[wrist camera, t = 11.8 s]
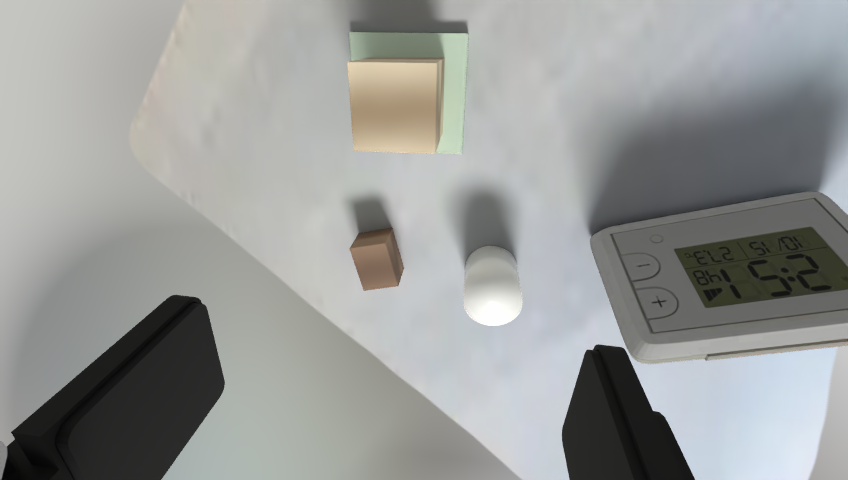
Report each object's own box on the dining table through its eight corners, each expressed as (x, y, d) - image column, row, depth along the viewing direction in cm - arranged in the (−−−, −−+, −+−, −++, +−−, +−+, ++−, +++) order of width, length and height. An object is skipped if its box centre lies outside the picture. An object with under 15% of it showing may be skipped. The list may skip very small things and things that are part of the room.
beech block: (372, 56, 28) (347, 62, 23) (444, 57, 28) (436, 63, 22) (375, 130, 30) (353, 150, 25) (442, 132, 30) (435, 153, 25)
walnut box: (359, 232, 35) (349, 248, 33) (392, 227, 35) (385, 243, 32) (372, 272, 37) (363, 290, 34) (404, 267, 36) (398, 286, 34)
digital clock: (831, 185, 29) (1001, 257, 20) (790, 292, 33) (914, 395, 24) (592, 190, 31) (641, 257, 22) (580, 289, 35) (617, 383, 26)
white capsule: (466, 244, 34) (465, 275, 30) (520, 247, 34) (526, 279, 30) (463, 288, 36) (461, 323, 32) (514, 291, 36) (519, 328, 32)
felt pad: (351, 32, 28) (349, 32, 28) (468, 33, 27) (468, 33, 27) (358, 147, 32) (356, 149, 31) (462, 151, 31) (461, 154, 30)
